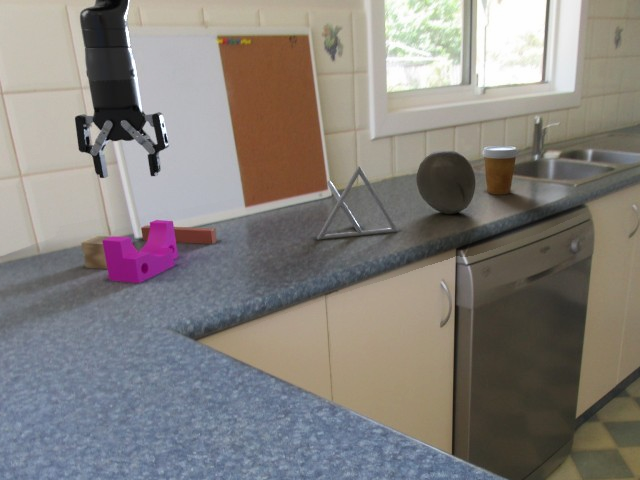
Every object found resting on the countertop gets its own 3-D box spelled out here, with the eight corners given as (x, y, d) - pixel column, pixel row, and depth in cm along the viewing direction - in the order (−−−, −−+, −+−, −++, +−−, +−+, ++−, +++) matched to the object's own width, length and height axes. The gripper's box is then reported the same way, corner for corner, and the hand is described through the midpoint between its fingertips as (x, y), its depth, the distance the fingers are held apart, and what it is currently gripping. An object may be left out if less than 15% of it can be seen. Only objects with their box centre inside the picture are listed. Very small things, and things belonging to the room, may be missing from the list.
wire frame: (326, 243, 156) (382, 207, 156) (338, 269, 145) (399, 231, 145) (284, 183, 145) (345, 145, 145) (295, 207, 135) (360, 166, 134)
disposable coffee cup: (517, 189, 186) (519, 145, 182) (514, 196, 178) (516, 150, 173) (483, 188, 188) (484, 145, 184) (479, 195, 180) (480, 150, 175)
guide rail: (143, 241, 142) (140, 227, 141) (148, 238, 144) (146, 225, 143) (212, 244, 138) (210, 230, 137) (217, 242, 140) (215, 228, 139)
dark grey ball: (476, 207, 166) (477, 146, 161) (472, 221, 153) (473, 155, 148) (421, 206, 168) (420, 146, 163) (412, 219, 155) (411, 155, 150)
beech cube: (85, 268, 125) (80, 242, 123) (103, 260, 129) (98, 235, 128) (108, 269, 124) (104, 244, 122) (125, 261, 128) (121, 236, 127)
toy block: (139, 283, 116) (132, 242, 113) (109, 281, 118) (102, 240, 115) (189, 259, 129) (184, 221, 126) (162, 257, 131) (156, 219, 128)
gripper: (163, 75, 112) (176, 171, 118) (77, 77, 111) (94, 174, 117) (150, 77, 105) (165, 179, 111) (58, 79, 104) (78, 181, 110)
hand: (129, 176), depth 114 cm, fingers open, 8 cm apart
